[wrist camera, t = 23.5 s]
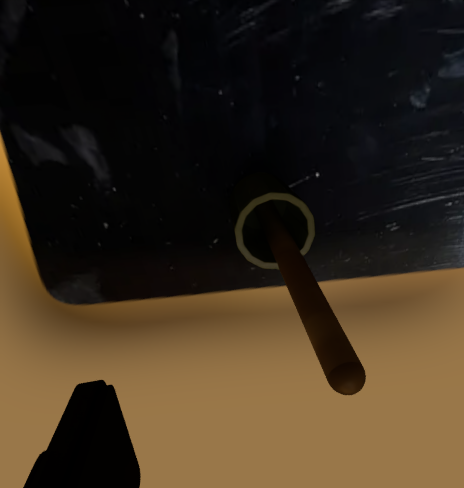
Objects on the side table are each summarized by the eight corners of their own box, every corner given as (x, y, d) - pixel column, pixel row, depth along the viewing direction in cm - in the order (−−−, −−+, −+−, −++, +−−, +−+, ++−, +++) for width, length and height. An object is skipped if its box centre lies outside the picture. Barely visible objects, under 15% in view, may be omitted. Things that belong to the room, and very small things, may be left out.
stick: (256, 209, 27) (344, 408, 14) (245, 195, 27) (328, 391, 13) (272, 197, 27) (378, 390, 14) (261, 183, 26) (362, 372, 13)
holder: (234, 236, 28) (241, 275, 22) (225, 176, 27) (229, 198, 20) (292, 227, 28) (317, 263, 22) (286, 167, 27) (311, 185, 20)
